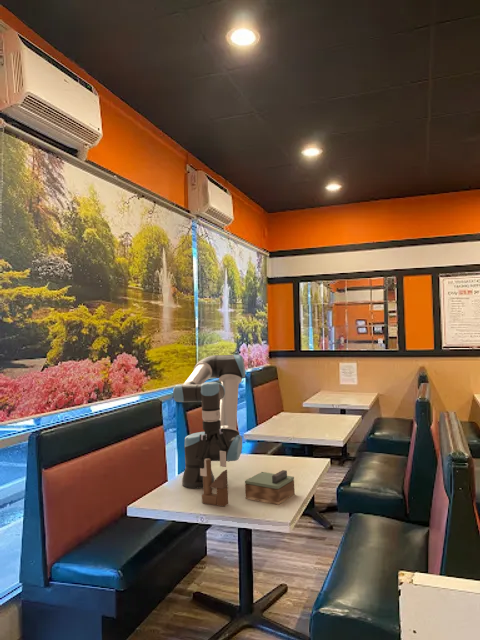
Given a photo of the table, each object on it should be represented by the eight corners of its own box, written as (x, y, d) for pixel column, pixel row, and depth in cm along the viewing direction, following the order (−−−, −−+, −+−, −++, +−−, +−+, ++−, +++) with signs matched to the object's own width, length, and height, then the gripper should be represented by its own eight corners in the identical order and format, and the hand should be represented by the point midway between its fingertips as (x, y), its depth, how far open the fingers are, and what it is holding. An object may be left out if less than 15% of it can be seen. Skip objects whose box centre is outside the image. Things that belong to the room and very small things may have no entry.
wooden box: (245, 498, 209) (244, 484, 209) (262, 488, 220) (262, 475, 220) (278, 504, 200) (277, 489, 200) (294, 494, 211) (294, 480, 211)
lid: (244, 483, 209) (244, 473, 209) (262, 474, 220) (261, 465, 220) (277, 489, 200) (277, 478, 200) (294, 479, 211) (293, 469, 211)
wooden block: (224, 507, 200) (222, 462, 200) (201, 503, 205) (200, 459, 205) (228, 503, 203) (227, 460, 203) (206, 500, 208) (204, 457, 208)
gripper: (199, 427, 192) (202, 481, 192) (235, 414, 213) (238, 463, 213) (184, 425, 196) (187, 478, 196) (221, 413, 217) (223, 461, 217)
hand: (213, 471), depth 205 cm, fingers open, 13 cm apart
